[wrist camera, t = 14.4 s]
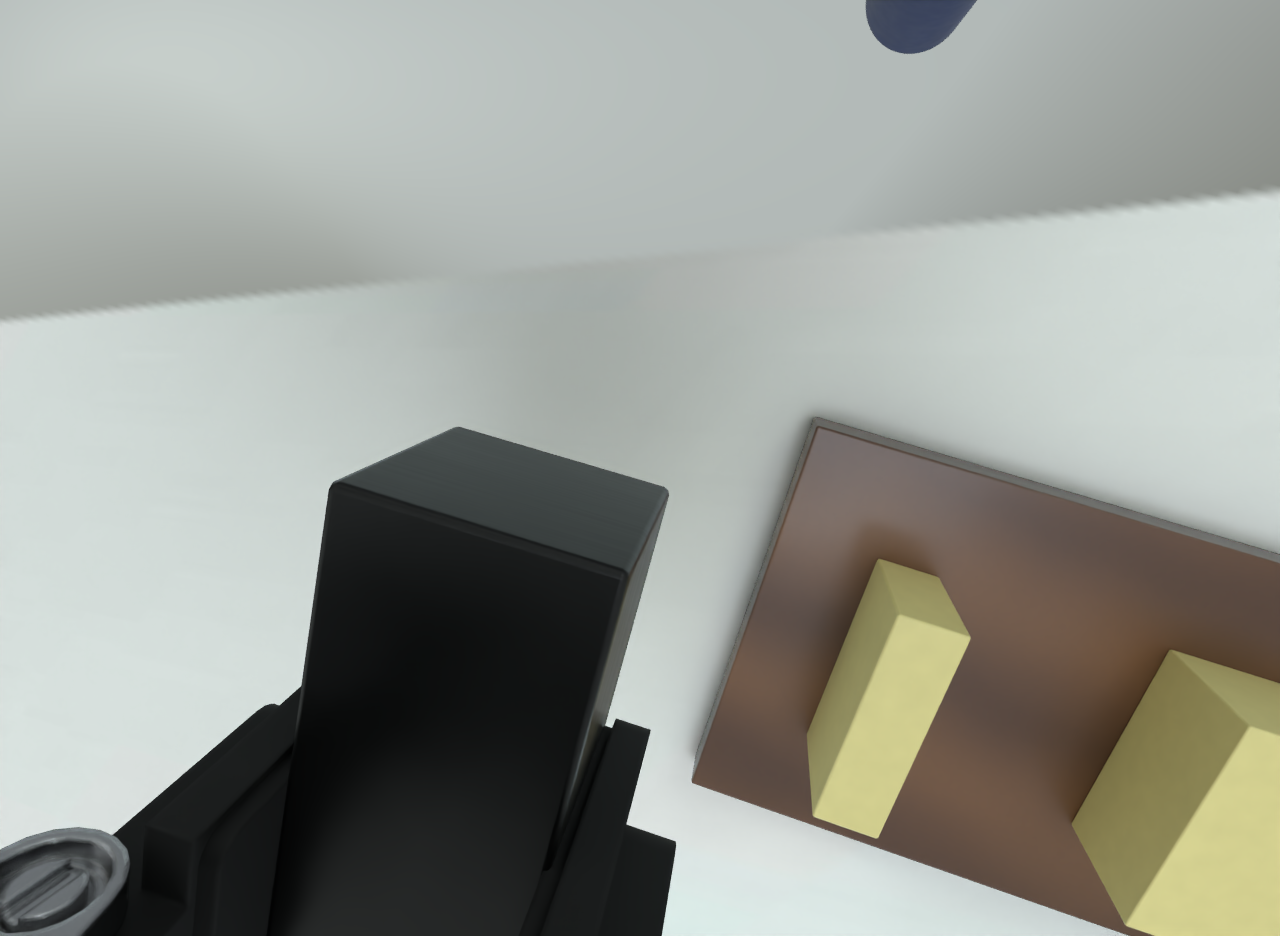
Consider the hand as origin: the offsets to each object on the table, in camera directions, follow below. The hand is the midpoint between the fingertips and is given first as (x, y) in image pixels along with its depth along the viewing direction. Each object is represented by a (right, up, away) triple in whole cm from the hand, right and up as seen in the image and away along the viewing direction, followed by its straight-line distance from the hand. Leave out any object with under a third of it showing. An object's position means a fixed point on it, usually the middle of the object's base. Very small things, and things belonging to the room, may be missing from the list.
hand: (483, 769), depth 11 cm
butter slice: (+10, -2, +14) cm, 17 cm away
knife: (-1, -5, +2) cm, 5 cm away
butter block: (+20, -5, +13) cm, 24 cm away
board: (+17, -4, +14) cm, 22 cm away
